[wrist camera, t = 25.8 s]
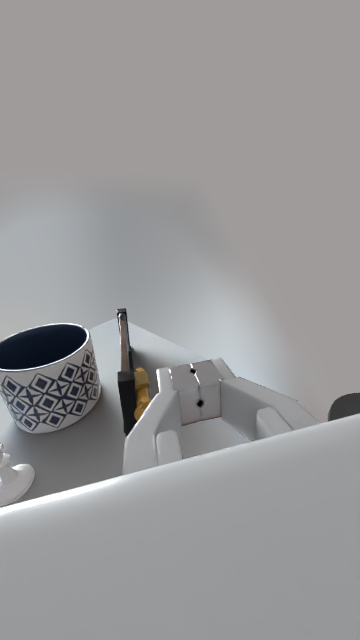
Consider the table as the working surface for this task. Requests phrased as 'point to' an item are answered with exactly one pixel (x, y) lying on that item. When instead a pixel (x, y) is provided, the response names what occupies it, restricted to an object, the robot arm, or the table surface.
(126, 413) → the gate frame
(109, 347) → the table surface
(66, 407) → the planter
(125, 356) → the gate
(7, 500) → the chess piece
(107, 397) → the table surface
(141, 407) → the bolt
